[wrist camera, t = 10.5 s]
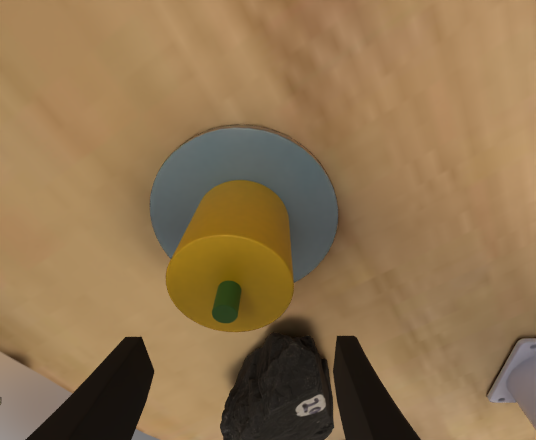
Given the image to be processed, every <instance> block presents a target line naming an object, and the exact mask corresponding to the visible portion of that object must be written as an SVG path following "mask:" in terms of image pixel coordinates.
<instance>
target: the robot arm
mask: <svg viewBox="0 0 536 440" xmlns="http://www.w3.org/2000/svg"><path fill="white" fill-rule="evenodd" d="M333 374H334V381H335V389H336V396H337V403H338V407H339V412H340V416H341V421H342V425H343V429H344V434H345V438H346V440H421V439H420V438H419V437H418V435H417V434H416V433H415V431H414V430H413V428H412V427H411V426H410V424H409V423H408V421H407V420H406V418H405V417H404V416H403V414H402V413H401V411H400V410H399V408H398V407H397V405H396V404H395V402H394V401H393V399H392V398H391V396H390V395H389V393H388V392H387V390H386V388H385V387H384V385H383V384H382V382H381V381H380V379H379V377H378V376H377V374H376V372H375V371H374V369H373V367H372V366H371V364H370V362H369V360H368V359H367V357H366V355H365V353H364V351H363V349H362V347H361V345H360V344H359V342H358V339H357V338H356V337H355V336H337V341H336V350H335V359H334V368H333ZM153 375H154V369H153V366H152V363H151V361H150V358H149V355H148V353H147V350H146V347H145V345H144V342H143V339H142V337H125V338H124V339H123V340H122V341H121V342H120V343H119V344H118V346H117V347H116V348H115V349H114V350H113V351H112V352H111V353H110V354H109V355H108V356H107V358H106V359H105V360H104V361H103V362H102V363H101V364H100V365H99V366H98V367H97V368H96V369H95V371H94V372H93V373H92V374H91V375H90V376H89V377H88V378H87V379H86V380H85V381H84V382H83V383H82V384H81V385H80V386H79V388H78V389H77V390H76V391H75V392H74V393H73V394H72V395H71V396H70V397H69V398H68V399H67V400H66V401H65V402H64V403H63V404H62V405H61V406H60V407H59V408H58V409H57V410H56V411H55V412H54V413H53V414H52V415H51V416H50V417H49V418H48V419H47V420H46V421H45V422H44V423H43V424H42V425H41V426H40V427H38V428H37V429H36V430H35V431H34V432H33V433H32V434H31V435H30V436H29V437H28V438H27V439H26V440H131V439H132V436H133V434H134V431H135V429H136V426H137V424H138V421H139V419H140V416H141V413H142V411H143V408H144V406H145V403H146V400H147V397H148V393H149V390H150V386H151V382H152V378H153ZM487 397H488V399H489V401H490V402H517V403H518V405H519V406H520V408H521V409H522V411H523V412H524V413H525V415H526V416H527V418H528V419H529V421H530V422H531V424H532V425H533V427H534V428H535V429H536V338H524V339H520V340H519V341H518V342H517V343H516V345H515V347H514V348H513V350H512V352H511V354H510V356H509V357H508V359H507V361H506V363H505V365H504V366H503V368H502V370H501V372H500V374H499V375H498V377H497V379H496V381H495V382H494V384H493V386H492V388H491V390H490V391H489V393H488V395H487Z"/></svg>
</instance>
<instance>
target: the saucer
mask: <svg viewBox="0 0 536 440" xmlns="http://www.w3.org/2000/svg"><path fill="white" fill-rule="evenodd" d="M234 180H247V181H252V182H256V183H259V184H261V185H264V186H266V187H267V188H269V189H270V190H272V191H273V192H274V193H275V194H276V195H277V196H278V197H279V198H280V199H281V200H282V202H283V203H284V205H285V207H286V210H287V212H288V217H289V228H290V241H291V254H292V267H293V280H294V283H295V282H296V281H298V280H300V279H302V278H303V277H305V276H306V275H308V274H309V273H310V272H311V271H312V270H313V269H315V268H316V267H317V266H318V264H319V263H320V262H321V261H322V260H323V259H324V257H325V256H326V254H327V253H328V251H329V249H330V247H331V245H332V243H333V241H334V237H335V234H336V231H337V225H338V205H337V198H336V195H335V192H334V188H333V186H332V183H331V181H330V179H329V177H328V175H327V173H326V171H325V170H324V168H323V167H322V165H321V164H320V162H319V161H318V160H317V159H316V158H315V157H314V155H313V154H312V153H311V152H310V151H308V150H307V149H306V148H305V147H304V146H302V145H301V144H300V143H298V142H297V141H295V140H293V139H292V138H290V137H288V136H286V135H284V134H282V133H280V132H277V131H274V130H271V129H268V128H264V127H259V126H252V125H230V126H222V127H218V128H214V129H210V130H207V131H205V132H202V133H200V134H198V135H196V136H194V137H192V138H191V139H189V140H187V141H186V142H185V143H183V144H182V145H181V146H180V147H179V148H177V149H176V150H175V151H174V152H173V153H172V154H171V155H170V157H169V158H168V159H167V160H166V161H165V162H164V164H163V165H162V167H161V168H160V170H159V171H158V174H157V176H156V178H155V180H154V183H153V187H152V191H151V197H150V216H151V221H152V226H153V229H154V232H155V235H156V237H157V239H158V241H159V243H160V245H161V247H162V248H163V250H164V251H165V252H166V254H167V255H168V256H169V257H170V259H171V258H172V256H173V254H174V253H175V251H176V249H177V247H178V245H179V243H180V241H181V239H182V237H183V235H184V233H185V231H186V229H187V227H188V225H189V223H190V221H191V219H192V217H193V215H194V213H195V212H196V210H197V208H198V206H199V204H200V202H201V200H202V198H203V197H204V196H205V195H206V194H207V193H208V192H209V191H210V190H211V189H212V188H214V187H215V186H217V185H219V184H222V183H225V182H228V181H234Z"/></svg>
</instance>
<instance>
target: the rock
mask: <svg viewBox="0 0 536 440" xmlns="http://www.w3.org/2000/svg"><path fill="white" fill-rule="evenodd" d="M333 428H334V423H333V397H332V391H331V385H330V377H329V369H328V365H327V360H325V359H322V358H321V357H320V354H319V353H318V352H317V348H316V346H315V342H314V339H313V338H311V336H304V337H295V338H291V337H290V336H289V335H282V334H280V333H276V332H273V333H271V334H270V335H269V336H268V337H267V338H266V340H265V343H264V345H263V347H260V348H258V349H256V350H255V351H254V352H252V353H251V354H250V355H248V356H247V358H246V359H245V360H244V363H243V366H242V368H241V370H240V372H239V374H238V377H237V380H236V383H235V386H234V387H233V389H232V390H231V391H230V393H229V397H228V398H227V400H226V403H225V410H224V411H223V413H222V421H221V424H220V429H221V433H222V435H223V440H324V439H326V438H327V437H328V436H329V435H330V433H331V432H332V429H333Z"/></svg>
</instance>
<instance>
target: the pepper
mask: <svg viewBox="0 0 536 440" xmlns="http://www.w3.org/2000/svg"><path fill="white" fill-rule="evenodd" d="M166 286H167V290H168V293H169V296H170V298H171V299H172V301H173V303H174V304H175V305H176V307H177V308H178V309H179V310H180V311H181V312H182V313H183V314H184V315H186V316H187V317H188V318H190V319H191V320H193V321H194V322H196V323H198V324H200V325H203V326H205V327H208V328H211V329H214V330H219V331H226V332H245V331H251V330H255V329H259V328H261V327H264V326H266V325H268V324H270V323H272V322H273V321H275V320H276V319H278V318H279V317H280V316H281V315H282V314H283V313H284V312H285V311H286V309H287V308H288V306H289V304H290V302H291V300H292V297H293V292H294V280H293V267H292V254H291V241H290V228H289V217H288V212H287V210H286V207H285V205H284V203H283V202H282V200H281V199H280V198H279V197H278V196H277V195H276V194H275V193H274V192H273V191H272V190H270V189H269V188H267V187H266V186H264V185H261V184H259V183H256V182H252V181H247V180H234V181H228V182H225V183H222V184H219V185H217V186H215V187H214V188H212V189H211V190H210V191H209V192H208V193H207V194H206V195H205V196H204V197H203V198H202V200H201V202H200V204H199V206H198V208H197V210H196V212H195V213H194V215H193V217H192V219H191V221H190V223H189V225H188V227H187V229H186V231H185V233H184V235H183V237H182V239H181V241H180V243H179V245H178V247H177V249H176V251H175V253H174V254H173V256H172V258H171V260H170V262H169V265H168V268H167V272H166Z"/></svg>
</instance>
